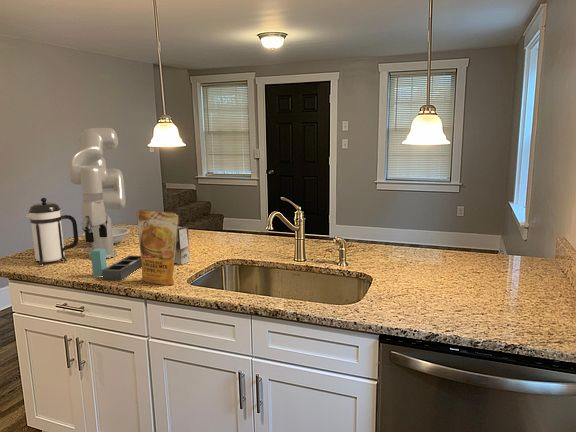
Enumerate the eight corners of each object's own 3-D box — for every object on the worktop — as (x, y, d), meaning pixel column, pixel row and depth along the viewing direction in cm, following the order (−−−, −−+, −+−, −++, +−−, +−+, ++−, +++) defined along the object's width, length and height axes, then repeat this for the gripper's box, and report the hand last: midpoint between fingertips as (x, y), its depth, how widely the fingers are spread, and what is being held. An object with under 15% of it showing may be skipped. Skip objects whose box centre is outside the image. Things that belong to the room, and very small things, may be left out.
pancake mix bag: (147, 275, 183) (142, 208, 178) (184, 282, 175) (180, 211, 170) (135, 280, 177) (129, 211, 172) (172, 287, 169) (168, 214, 164)
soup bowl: (72, 248, 231) (70, 235, 230) (103, 237, 254) (102, 226, 252) (111, 251, 224) (110, 238, 223) (140, 240, 247) (139, 228, 246)
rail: (102, 279, 179) (101, 269, 178) (129, 264, 200) (128, 255, 200) (121, 280, 178) (120, 270, 177) (146, 264, 199) (145, 255, 199)
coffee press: (55, 267, 197) (48, 200, 192) (24, 266, 200) (16, 199, 195) (81, 257, 214) (74, 194, 208) (52, 255, 217) (44, 194, 211)
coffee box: (191, 261, 203) (189, 227, 200) (181, 265, 197) (179, 229, 194) (175, 259, 207) (173, 225, 204) (165, 262, 202) (163, 228, 199)
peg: (93, 277, 183) (90, 251, 181) (98, 274, 187) (96, 248, 185) (102, 277, 182) (99, 251, 180) (107, 274, 186) (105, 248, 184)
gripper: (96, 195, 187) (100, 235, 190) (71, 200, 171) (75, 244, 173) (113, 195, 186) (116, 235, 189) (89, 200, 169) (93, 244, 172)
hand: (96, 239), depth 181 cm, fingers open, 9 cm apart
